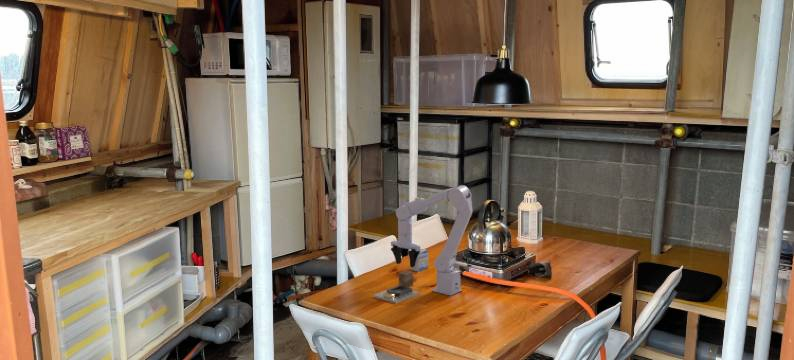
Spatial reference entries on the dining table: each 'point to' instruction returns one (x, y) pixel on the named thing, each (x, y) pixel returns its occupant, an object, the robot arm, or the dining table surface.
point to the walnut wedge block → (406, 278)
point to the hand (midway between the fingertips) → (405, 265)
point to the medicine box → (421, 261)
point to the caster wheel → (541, 269)
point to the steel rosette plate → (396, 294)
